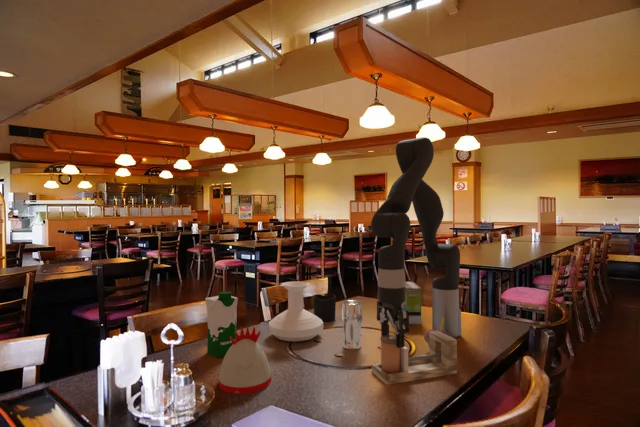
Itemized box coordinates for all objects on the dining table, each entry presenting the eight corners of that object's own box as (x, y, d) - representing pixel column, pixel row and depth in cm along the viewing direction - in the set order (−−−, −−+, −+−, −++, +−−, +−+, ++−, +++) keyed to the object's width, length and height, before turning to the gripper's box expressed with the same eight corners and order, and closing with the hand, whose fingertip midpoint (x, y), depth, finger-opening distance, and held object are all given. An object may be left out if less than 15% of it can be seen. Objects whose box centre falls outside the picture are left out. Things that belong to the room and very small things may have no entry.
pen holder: (325, 315, 177) (325, 292, 177) (340, 320, 170) (340, 296, 170) (308, 319, 170) (308, 296, 170) (324, 324, 163) (324, 299, 163)
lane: (438, 362, 123) (437, 330, 123) (456, 373, 114) (456, 339, 114) (371, 371, 116) (371, 338, 116) (386, 384, 107) (386, 349, 107)
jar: (394, 367, 116) (394, 333, 116) (404, 375, 111) (404, 339, 111) (377, 370, 114) (377, 335, 114) (386, 377, 109) (386, 341, 109)
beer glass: (361, 350, 133) (361, 305, 133) (340, 349, 135) (339, 304, 134) (363, 343, 140) (363, 300, 140) (343, 342, 141) (343, 299, 141)
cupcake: (451, 348, 134) (451, 312, 134) (451, 357, 126) (451, 319, 126) (425, 346, 137) (424, 310, 137) (422, 354, 129) (422, 317, 129)
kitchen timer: (275, 389, 105) (274, 332, 105) (220, 397, 101) (219, 337, 101) (266, 369, 119) (266, 318, 119) (218, 375, 115) (217, 322, 115)
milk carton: (217, 359, 126) (216, 295, 126) (202, 352, 133) (202, 291, 132) (241, 352, 132) (240, 291, 132) (226, 346, 139) (225, 287, 139)
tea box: (422, 324, 162) (422, 287, 162) (396, 324, 162) (396, 287, 162) (414, 314, 177) (413, 280, 177) (390, 314, 177) (390, 281, 177)
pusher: (449, 358, 122) (449, 335, 122) (462, 365, 117) (462, 341, 117) (393, 366, 116) (393, 342, 116) (404, 374, 111) (404, 348, 111)
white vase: (290, 350, 135) (290, 291, 134) (257, 336, 150) (257, 283, 149) (334, 337, 148) (334, 284, 147) (300, 325, 163) (299, 277, 162)
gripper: (417, 288, 107) (418, 349, 107) (391, 278, 120) (392, 333, 121) (391, 290, 105) (392, 353, 105) (368, 280, 118) (369, 336, 118)
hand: (392, 342), depth 113 cm, fingers open, 8 cm apart
